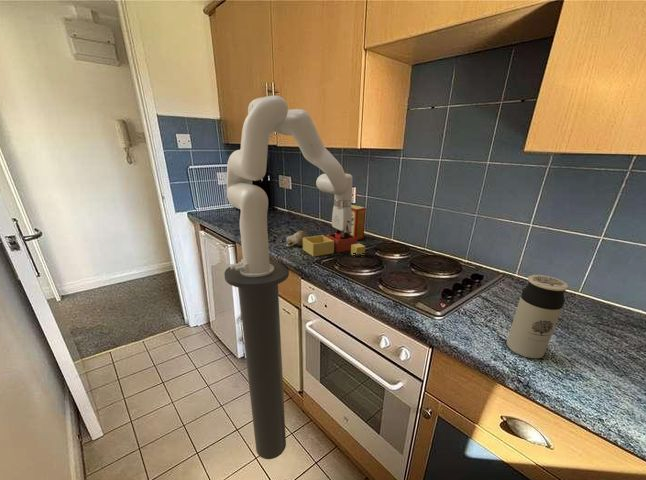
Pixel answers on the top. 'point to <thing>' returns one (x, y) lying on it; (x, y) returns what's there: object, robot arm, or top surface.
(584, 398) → the top surface
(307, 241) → the yellow bin
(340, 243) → the red bin
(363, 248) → the yellow block
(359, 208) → the baking soda box
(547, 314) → the travel mug
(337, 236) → the red block
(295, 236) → the beige animal figurine
